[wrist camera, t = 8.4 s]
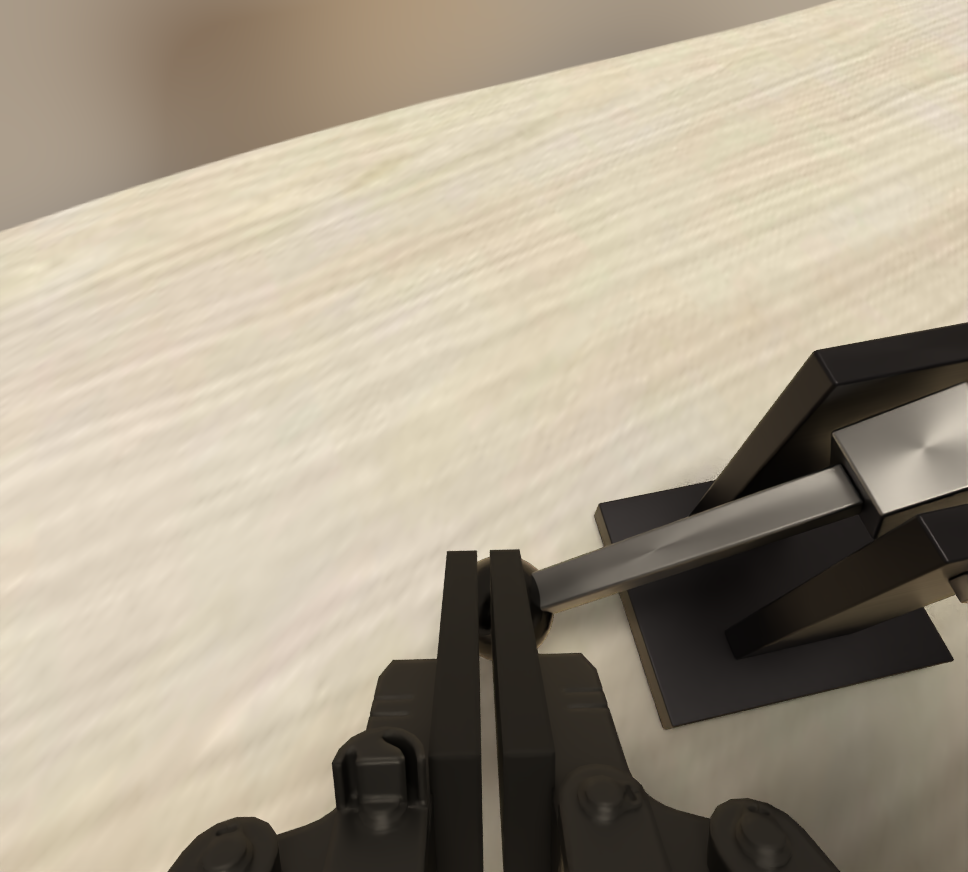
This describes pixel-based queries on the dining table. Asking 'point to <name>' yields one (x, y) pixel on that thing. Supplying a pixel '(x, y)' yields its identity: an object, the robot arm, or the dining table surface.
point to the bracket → (801, 554)
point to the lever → (775, 509)
